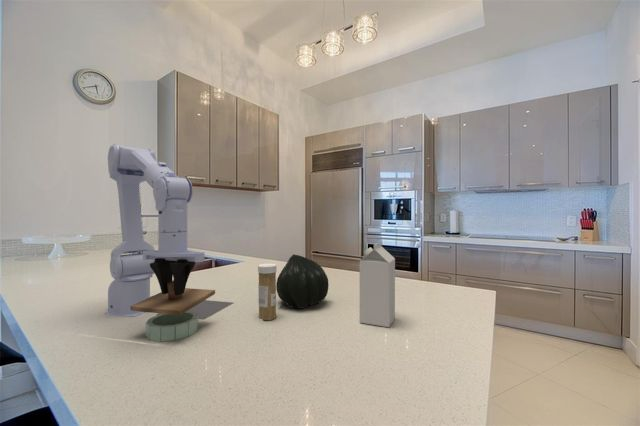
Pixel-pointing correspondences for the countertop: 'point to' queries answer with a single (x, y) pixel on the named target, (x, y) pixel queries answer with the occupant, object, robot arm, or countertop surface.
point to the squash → (302, 282)
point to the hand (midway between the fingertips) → (173, 293)
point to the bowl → (171, 326)
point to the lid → (173, 301)
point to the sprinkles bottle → (267, 291)
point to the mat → (208, 308)
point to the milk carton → (377, 287)
